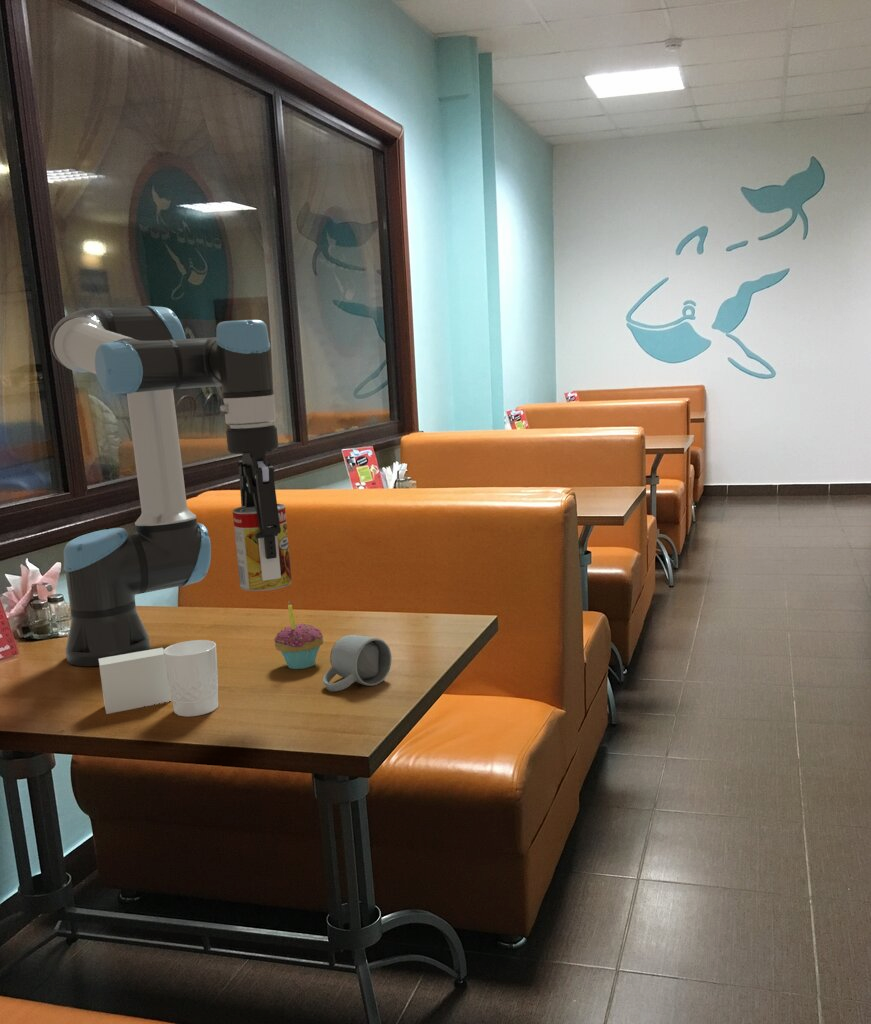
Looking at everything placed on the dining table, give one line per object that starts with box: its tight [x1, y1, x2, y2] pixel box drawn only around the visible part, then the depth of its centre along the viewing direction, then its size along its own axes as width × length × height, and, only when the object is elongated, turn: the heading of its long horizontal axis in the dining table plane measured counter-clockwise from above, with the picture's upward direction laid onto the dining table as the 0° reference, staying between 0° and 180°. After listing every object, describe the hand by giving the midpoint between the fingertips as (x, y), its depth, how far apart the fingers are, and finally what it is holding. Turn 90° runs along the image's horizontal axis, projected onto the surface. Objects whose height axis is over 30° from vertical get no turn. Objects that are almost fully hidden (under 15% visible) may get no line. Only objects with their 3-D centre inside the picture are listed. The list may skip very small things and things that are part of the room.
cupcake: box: [274, 601, 324, 670], centre depth 165 cm, size 9×8×12 cm
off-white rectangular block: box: [98, 647, 173, 715], centre depth 151 cm, size 4×10×8 cm, turn 113°
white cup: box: [163, 639, 219, 718], centre depth 147 cm, size 8×8×10 cm
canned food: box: [232, 503, 293, 592], centre depth 145 cm, size 8×8×12 cm
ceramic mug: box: [322, 634, 392, 693], centre depth 155 cm, size 11×8×8 cm
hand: (265, 573), depth 146 cm, fingers closed on canned food, 8 cm apart
